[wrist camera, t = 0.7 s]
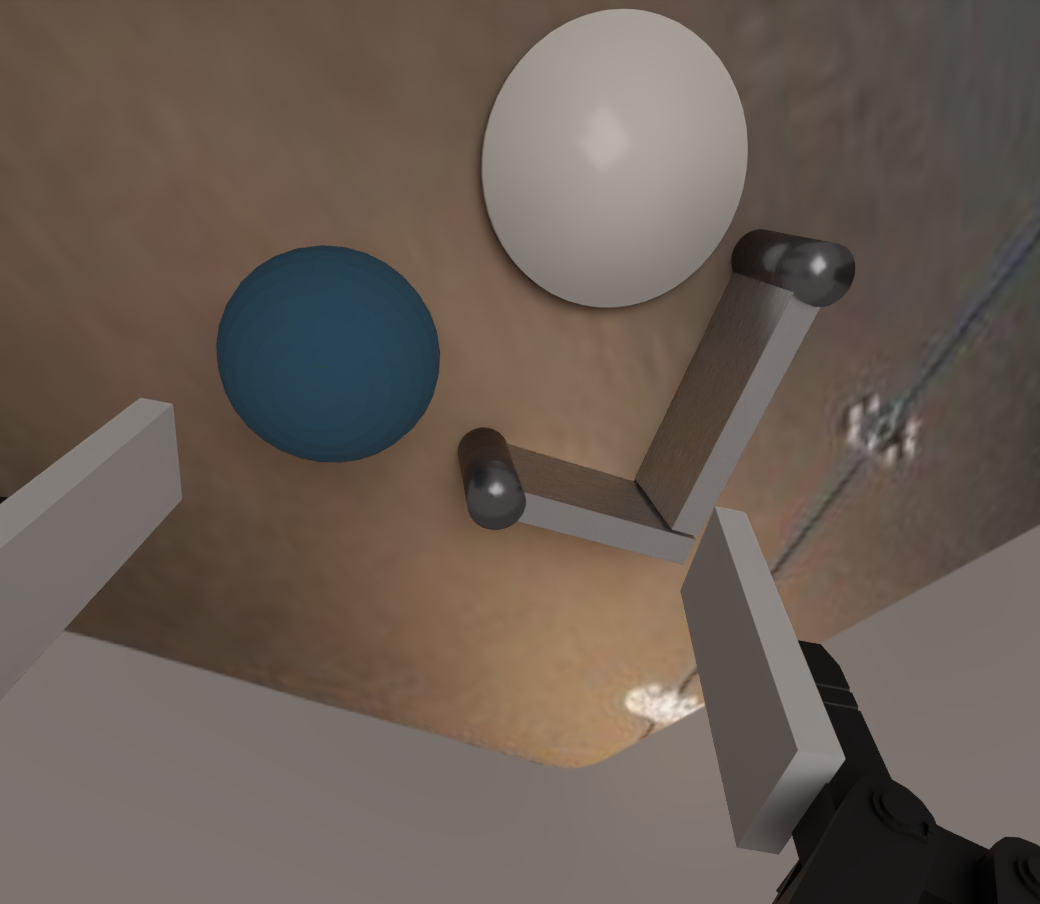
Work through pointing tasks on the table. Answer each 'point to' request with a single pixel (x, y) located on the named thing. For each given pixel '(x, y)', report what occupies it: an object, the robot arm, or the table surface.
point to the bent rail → (675, 415)
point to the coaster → (614, 158)
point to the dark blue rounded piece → (328, 353)
